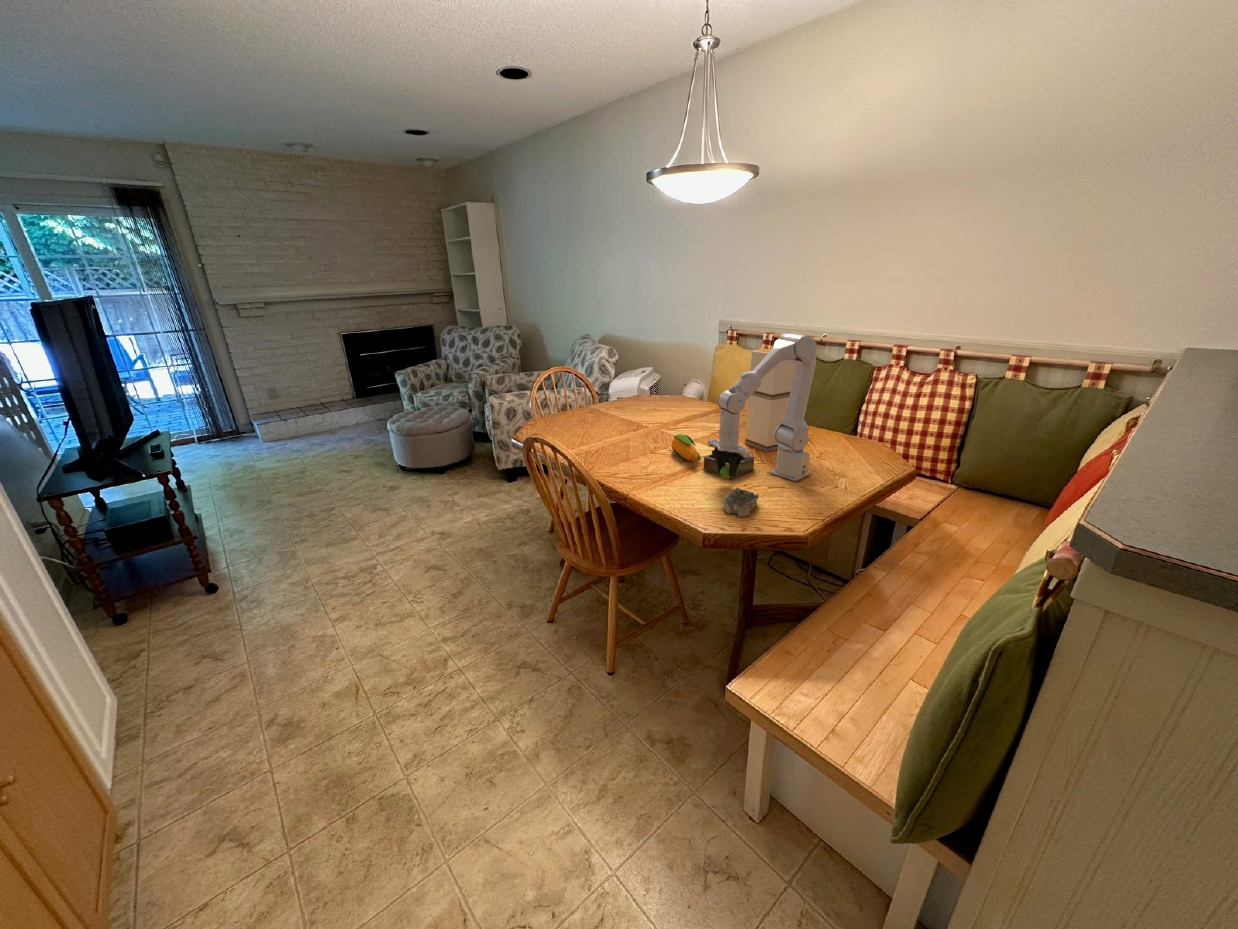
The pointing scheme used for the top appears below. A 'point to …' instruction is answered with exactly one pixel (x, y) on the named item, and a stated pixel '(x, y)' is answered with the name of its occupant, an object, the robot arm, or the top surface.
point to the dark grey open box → (743, 467)
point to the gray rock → (740, 502)
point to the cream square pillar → (768, 403)
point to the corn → (685, 448)
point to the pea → (725, 471)
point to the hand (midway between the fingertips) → (726, 473)
